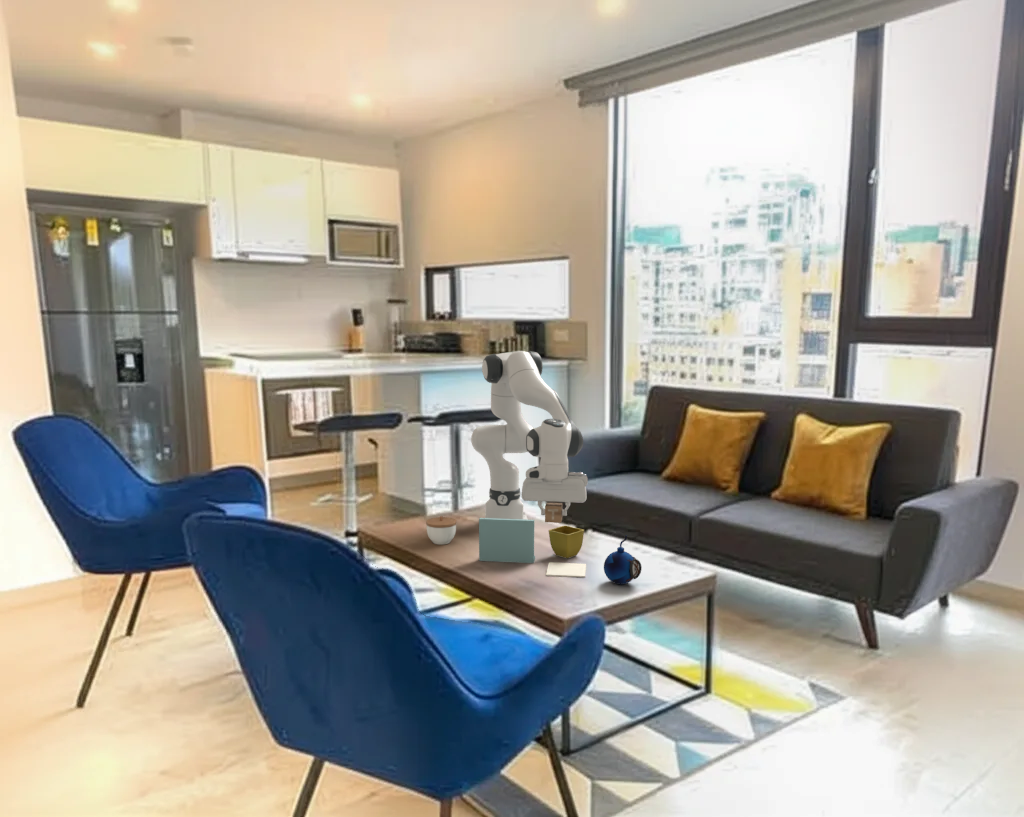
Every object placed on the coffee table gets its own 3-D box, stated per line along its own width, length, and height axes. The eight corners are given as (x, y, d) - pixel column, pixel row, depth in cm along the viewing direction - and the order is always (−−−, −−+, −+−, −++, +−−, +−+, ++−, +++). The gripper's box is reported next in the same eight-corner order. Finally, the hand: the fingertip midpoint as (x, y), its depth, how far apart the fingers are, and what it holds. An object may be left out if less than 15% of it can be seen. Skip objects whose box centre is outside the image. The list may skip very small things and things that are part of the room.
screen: (481, 556, 246) (481, 515, 244) (535, 558, 243) (535, 517, 242) (479, 560, 241) (479, 519, 239) (533, 563, 239) (533, 520, 237)
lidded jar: (462, 540, 264) (462, 514, 263) (446, 548, 255) (445, 521, 254) (437, 536, 269) (437, 511, 268) (420, 543, 260) (420, 517, 259)
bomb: (630, 592, 212) (631, 541, 211) (597, 584, 219) (598, 535, 217) (645, 583, 220) (646, 534, 218) (613, 575, 227) (614, 528, 225)
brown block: (546, 518, 233) (546, 502, 232) (562, 518, 232) (562, 503, 231) (544, 522, 227) (544, 506, 227) (560, 522, 227) (561, 507, 226)
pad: (549, 563, 238) (549, 562, 238) (586, 565, 237) (586, 563, 237) (546, 575, 226) (546, 574, 226) (585, 577, 225) (585, 576, 225)
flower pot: (547, 555, 246) (547, 529, 245) (564, 550, 253) (564, 524, 252) (567, 561, 240) (567, 534, 239) (584, 555, 246) (584, 529, 245)
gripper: (588, 470, 230) (587, 514, 231) (523, 469, 233) (523, 511, 234) (587, 474, 224) (586, 518, 225) (520, 472, 227) (520, 516, 228)
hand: (553, 515), depth 230 cm, fingers closed on brown block, 5 cm apart
